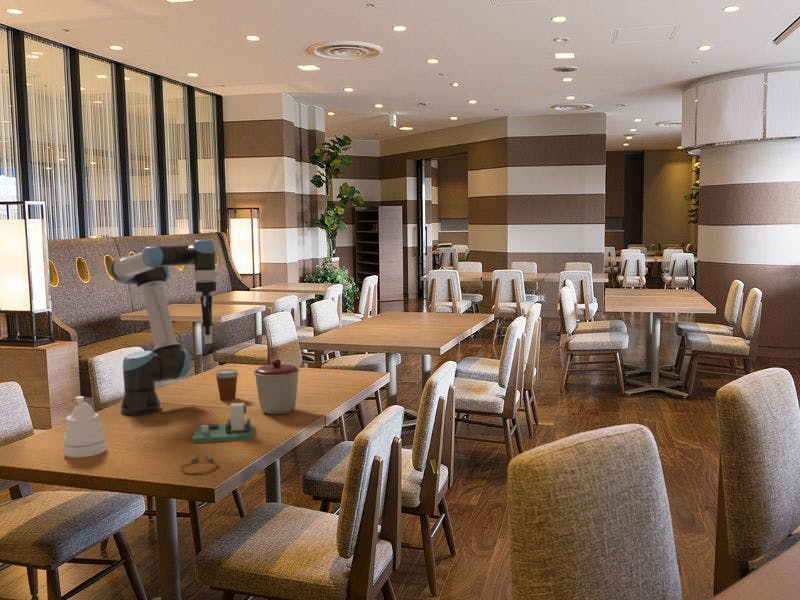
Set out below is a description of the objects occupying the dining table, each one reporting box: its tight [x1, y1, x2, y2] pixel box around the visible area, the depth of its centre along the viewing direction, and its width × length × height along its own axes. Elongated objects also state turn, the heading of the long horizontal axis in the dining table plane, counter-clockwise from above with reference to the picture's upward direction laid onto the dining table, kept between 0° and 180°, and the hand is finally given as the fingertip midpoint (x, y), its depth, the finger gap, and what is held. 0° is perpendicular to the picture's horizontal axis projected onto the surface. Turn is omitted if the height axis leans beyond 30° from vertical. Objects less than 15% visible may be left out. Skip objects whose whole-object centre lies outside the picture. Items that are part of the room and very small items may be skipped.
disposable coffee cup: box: [214, 368, 239, 402], centre depth 314 cm, size 10×10×12 cm
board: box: [191, 417, 255, 443], centre depth 261 cm, size 20×16×4 cm
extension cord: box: [180, 453, 220, 475], centre depth 228 cm, size 12×16×2 cm
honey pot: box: [63, 395, 107, 458], centre depth 244 cm, size 13×13×18 cm
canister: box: [253, 358, 301, 415], centre depth 291 cm, size 18×18×21 cm
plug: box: [229, 402, 247, 431], centre depth 261 cm, size 5×4×9 cm
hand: (208, 342), depth 280 cm, fingers closed
